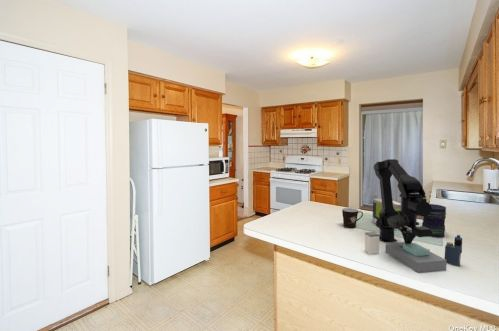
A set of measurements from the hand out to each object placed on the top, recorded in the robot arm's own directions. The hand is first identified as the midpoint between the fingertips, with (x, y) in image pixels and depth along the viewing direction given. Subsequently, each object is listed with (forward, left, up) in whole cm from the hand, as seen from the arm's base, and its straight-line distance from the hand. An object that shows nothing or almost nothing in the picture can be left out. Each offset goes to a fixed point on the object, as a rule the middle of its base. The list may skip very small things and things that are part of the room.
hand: (407, 245), depth 107 cm
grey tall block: (-7, -12, -5) cm, 14 cm away
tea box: (-37, +17, -5) cm, 41 cm away
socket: (+3, 0, -5) cm, 6 cm away
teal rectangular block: (+4, 0, -1) cm, 4 cm away
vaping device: (+8, +13, -5) cm, 16 cm away
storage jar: (-21, +32, -5) cm, 38 cm away
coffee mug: (-39, -2, -5) cm, 39 cm away
